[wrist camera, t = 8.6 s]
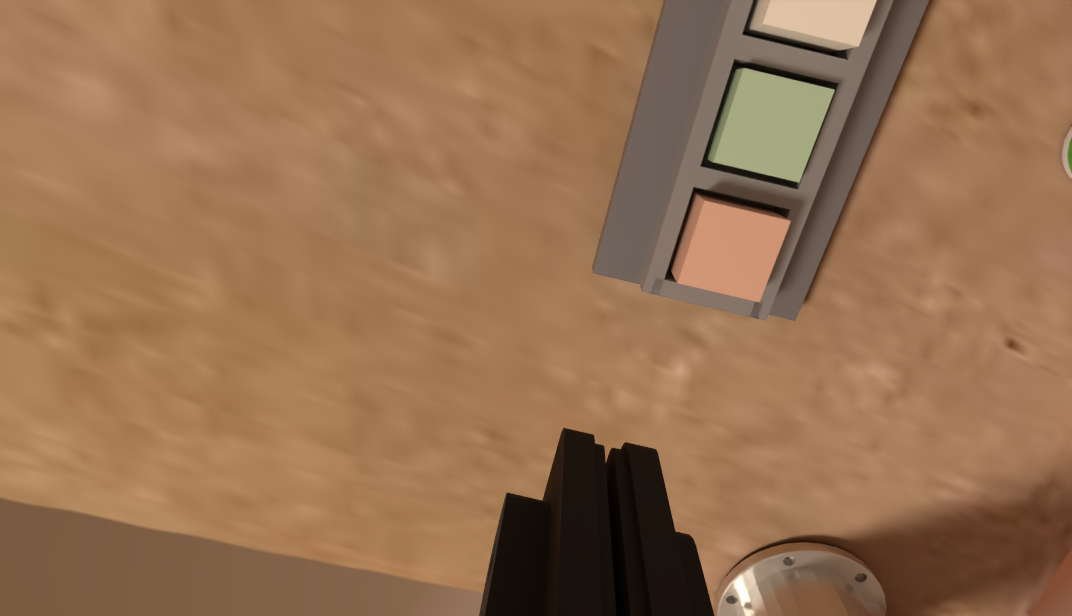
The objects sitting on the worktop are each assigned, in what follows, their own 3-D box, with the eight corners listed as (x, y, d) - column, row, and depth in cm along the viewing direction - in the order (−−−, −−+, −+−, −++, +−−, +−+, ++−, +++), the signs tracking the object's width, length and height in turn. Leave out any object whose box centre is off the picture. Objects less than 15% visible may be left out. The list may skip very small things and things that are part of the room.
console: (937, -56, 29) (990, -79, 26) (787, 312, 37) (810, 336, 33) (694, -114, 29) (711, -146, 25) (592, 266, 37) (593, 285, 33)
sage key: (809, 90, 31) (834, 89, 28) (779, 175, 32) (799, 182, 29) (727, 71, 31) (743, 67, 28) (700, 156, 32) (713, 162, 29)
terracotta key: (771, 209, 32) (790, 221, 29) (743, 284, 34) (759, 302, 31) (692, 191, 32) (704, 200, 29) (668, 267, 34) (677, 283, 31)
